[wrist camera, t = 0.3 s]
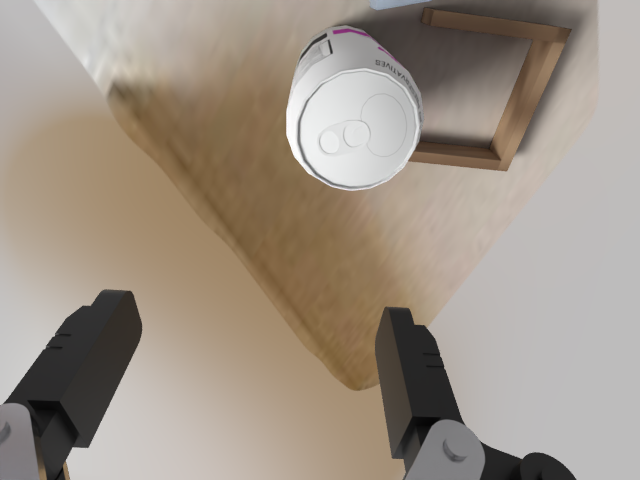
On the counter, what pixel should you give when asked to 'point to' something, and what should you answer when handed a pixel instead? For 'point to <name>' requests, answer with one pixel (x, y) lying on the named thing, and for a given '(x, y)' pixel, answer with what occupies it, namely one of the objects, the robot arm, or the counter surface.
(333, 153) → the supplement can
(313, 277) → the counter surface
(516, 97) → the frame
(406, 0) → the slate-blue block
